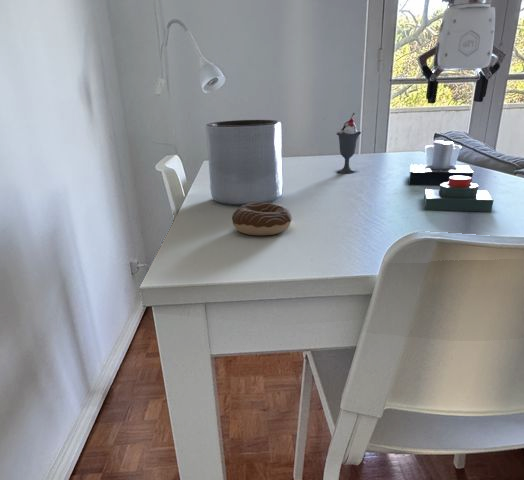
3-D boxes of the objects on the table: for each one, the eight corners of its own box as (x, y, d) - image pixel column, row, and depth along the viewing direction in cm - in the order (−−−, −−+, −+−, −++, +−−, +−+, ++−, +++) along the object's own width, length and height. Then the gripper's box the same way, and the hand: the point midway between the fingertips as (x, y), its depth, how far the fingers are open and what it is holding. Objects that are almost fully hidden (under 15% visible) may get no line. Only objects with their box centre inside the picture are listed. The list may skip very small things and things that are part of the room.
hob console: (466, 178, 119) (468, 164, 117) (470, 185, 110) (473, 171, 109) (409, 177, 122) (410, 164, 121) (409, 184, 114) (410, 171, 112)
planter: (207, 208, 99) (200, 126, 91) (215, 192, 113) (209, 121, 105) (283, 205, 98) (283, 124, 91) (281, 190, 112) (281, 118, 105)
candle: (415, 171, 130) (418, 146, 127) (440, 168, 133) (443, 143, 130) (438, 175, 123) (442, 149, 120) (464, 172, 126) (469, 146, 123)
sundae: (353, 174, 129) (357, 113, 122) (330, 172, 132) (333, 113, 125) (362, 170, 134) (366, 111, 126) (340, 169, 137) (343, 111, 130)
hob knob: (448, 167, 116) (452, 140, 113) (450, 169, 113) (454, 142, 110) (430, 166, 117) (434, 140, 114) (431, 169, 114) (435, 142, 111)
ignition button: (468, 185, 94) (470, 175, 93) (470, 189, 90) (472, 179, 89) (447, 184, 95) (448, 175, 94) (448, 188, 91) (450, 179, 90)
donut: (239, 221, 89) (238, 199, 87) (295, 222, 87) (295, 200, 85) (225, 237, 80) (224, 213, 78) (287, 239, 78) (287, 214, 76)
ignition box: (484, 201, 96) (488, 181, 94) (491, 211, 89) (495, 190, 87) (423, 200, 99) (426, 180, 97) (424, 210, 92) (427, 188, 90)
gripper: (430, -1, 86) (418, 104, 94) (525, -5, 86) (504, 101, 94) (418, 4, 92) (407, 103, 101) (507, 1, 92) (488, 100, 101)
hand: (454, 102), depth 97 cm, fingers open, 9 cm apart
